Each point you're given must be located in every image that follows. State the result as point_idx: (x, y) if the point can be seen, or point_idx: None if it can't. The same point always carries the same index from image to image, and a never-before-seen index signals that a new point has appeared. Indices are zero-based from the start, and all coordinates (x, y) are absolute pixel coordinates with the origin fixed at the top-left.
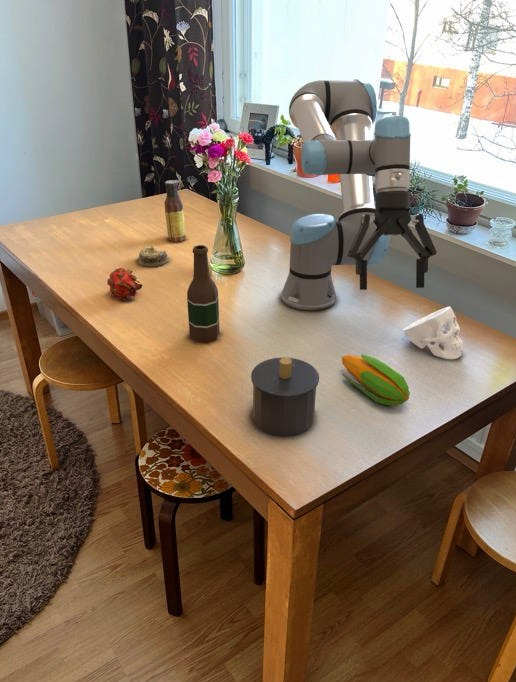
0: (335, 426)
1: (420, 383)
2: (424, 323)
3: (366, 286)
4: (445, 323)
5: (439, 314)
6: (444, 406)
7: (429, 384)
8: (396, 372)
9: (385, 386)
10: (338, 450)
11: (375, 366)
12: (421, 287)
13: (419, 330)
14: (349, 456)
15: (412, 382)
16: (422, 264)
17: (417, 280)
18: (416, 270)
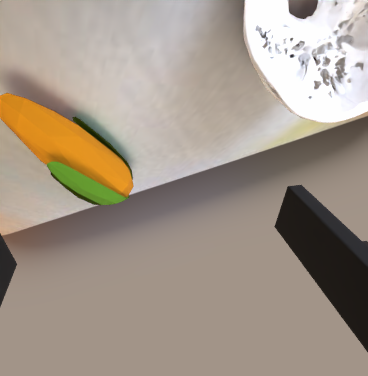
0: (20, 186)
1: (176, 128)
2: (273, 87)
3: (9, 277)
4: (323, 101)
5: (317, 121)
6: (182, 166)
7: (190, 131)
8: (114, 197)
9: (92, 201)
10: (30, 207)
11: (77, 192)
12: (276, 227)
13: (256, 69)
14: (44, 211)
15: (164, 125)
16: (347, 318)
17: (303, 219)
18: (346, 249)
